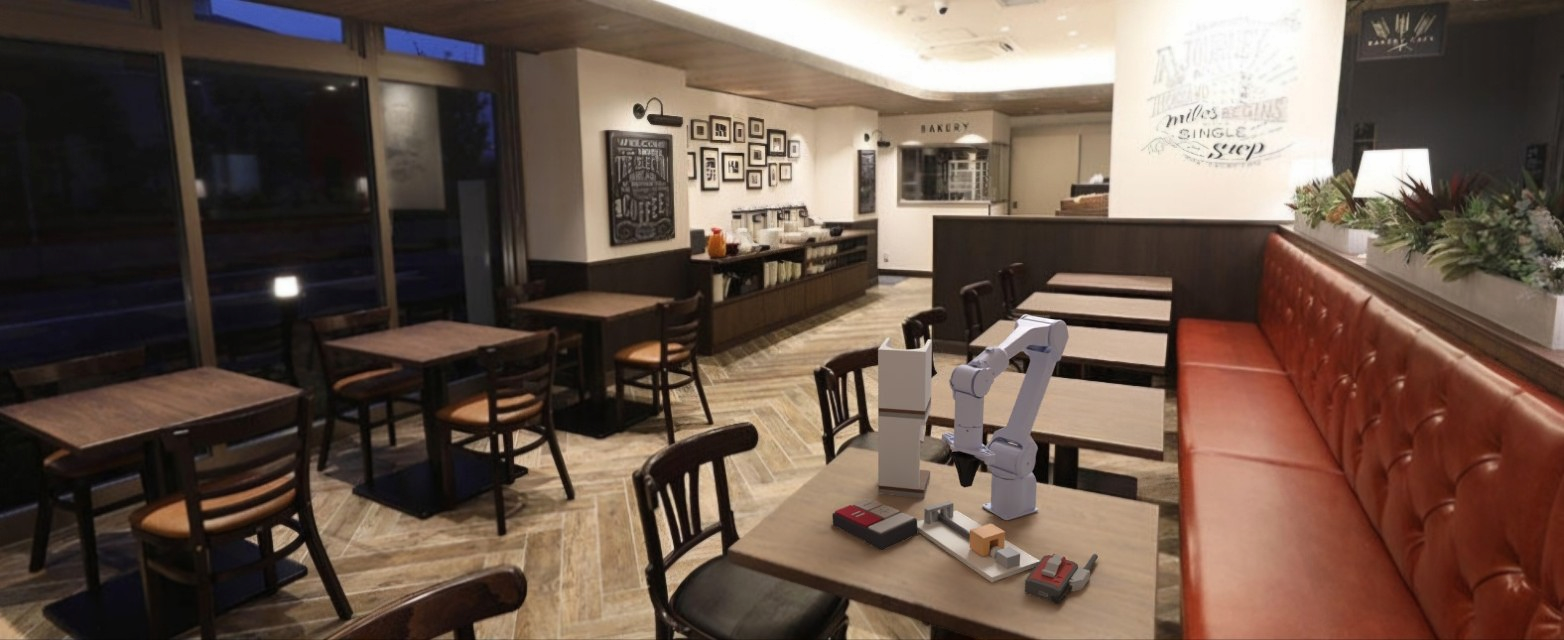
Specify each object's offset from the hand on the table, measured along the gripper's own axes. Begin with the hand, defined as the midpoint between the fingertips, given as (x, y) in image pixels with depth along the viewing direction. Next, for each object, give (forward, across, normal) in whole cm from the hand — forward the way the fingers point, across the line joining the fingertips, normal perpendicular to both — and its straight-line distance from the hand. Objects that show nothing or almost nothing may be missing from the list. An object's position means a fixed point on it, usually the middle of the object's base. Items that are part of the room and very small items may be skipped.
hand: (966, 485), depth 165 cm
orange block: (+9, +10, -2) cm, 14 cm away
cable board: (+10, +5, -2) cm, 12 cm away
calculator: (+11, -11, -16) cm, 22 cm away
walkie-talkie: (+11, +23, +4) cm, 26 cm away
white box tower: (+10, -25, +3) cm, 27 cm away
